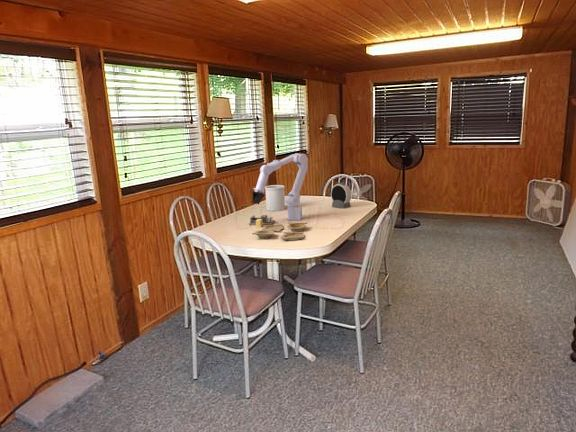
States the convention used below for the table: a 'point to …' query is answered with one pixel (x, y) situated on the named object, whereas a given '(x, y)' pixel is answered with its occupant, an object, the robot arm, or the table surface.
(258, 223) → the block
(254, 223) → the board
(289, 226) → the tableware set
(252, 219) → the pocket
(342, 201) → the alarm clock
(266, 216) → the block
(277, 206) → the utensil holder
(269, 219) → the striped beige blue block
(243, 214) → the table surface
